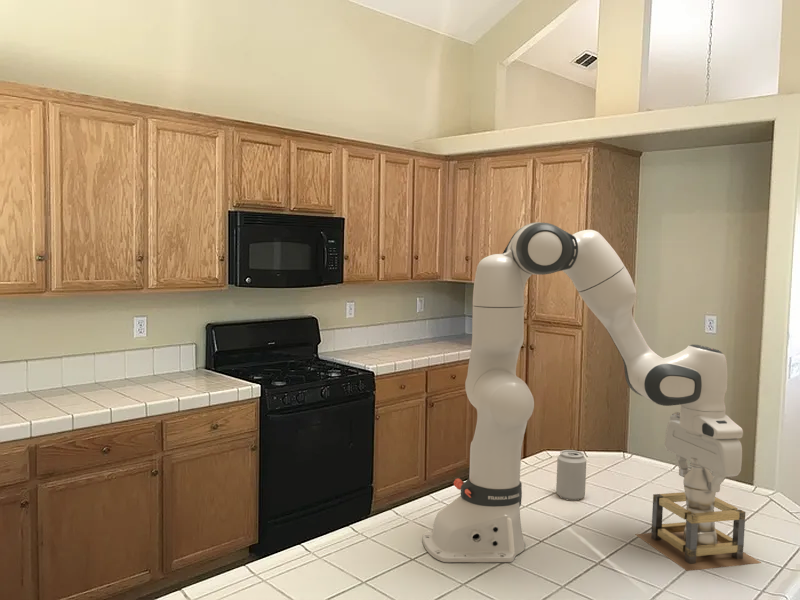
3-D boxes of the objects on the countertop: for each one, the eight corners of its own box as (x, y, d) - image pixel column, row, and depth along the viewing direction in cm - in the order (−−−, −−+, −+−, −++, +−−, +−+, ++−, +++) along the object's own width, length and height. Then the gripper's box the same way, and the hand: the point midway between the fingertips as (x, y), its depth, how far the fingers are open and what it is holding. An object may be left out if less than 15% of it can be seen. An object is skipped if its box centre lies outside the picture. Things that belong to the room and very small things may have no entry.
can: (588, 495, 180) (590, 451, 179) (579, 503, 174) (581, 458, 173) (561, 489, 184) (563, 446, 183) (552, 497, 178) (553, 453, 177)
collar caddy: (689, 564, 137) (692, 516, 137) (651, 537, 150) (653, 494, 149) (742, 558, 141) (745, 512, 140) (700, 533, 153) (703, 490, 152)
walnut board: (686, 576, 134) (687, 570, 134) (634, 539, 152) (634, 534, 152) (761, 568, 139) (761, 562, 139) (702, 533, 156) (702, 528, 156)
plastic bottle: (721, 557, 140) (721, 462, 140) (687, 555, 141) (687, 460, 141) (712, 546, 146) (713, 455, 146) (679, 544, 147) (680, 453, 147)
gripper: (659, 410, 153) (656, 469, 154) (722, 433, 133) (718, 501, 134) (683, 409, 154) (679, 467, 155) (749, 432, 134) (745, 499, 135)
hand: (698, 483), depth 144 cm, fingers open, 8 cm apart
